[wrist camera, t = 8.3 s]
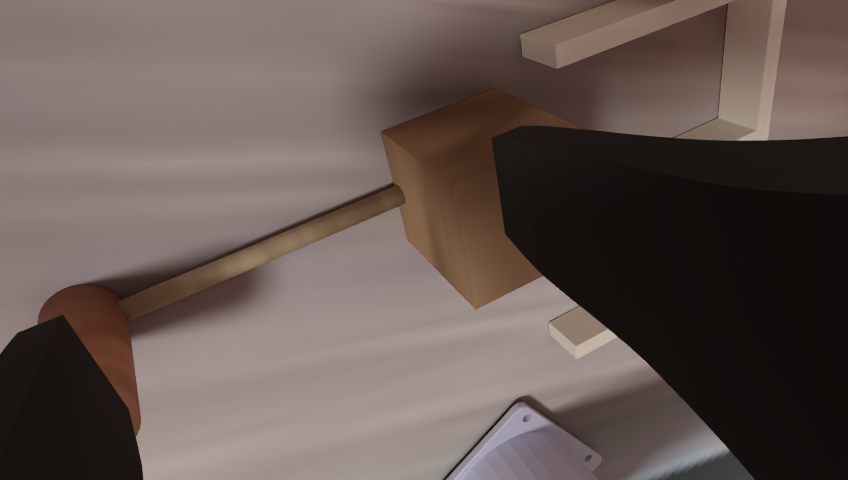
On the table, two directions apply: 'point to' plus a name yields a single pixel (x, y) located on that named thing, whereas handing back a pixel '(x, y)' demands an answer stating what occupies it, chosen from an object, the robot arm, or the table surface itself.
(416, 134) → the tethered block
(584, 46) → the lane rack
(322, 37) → the table surface
